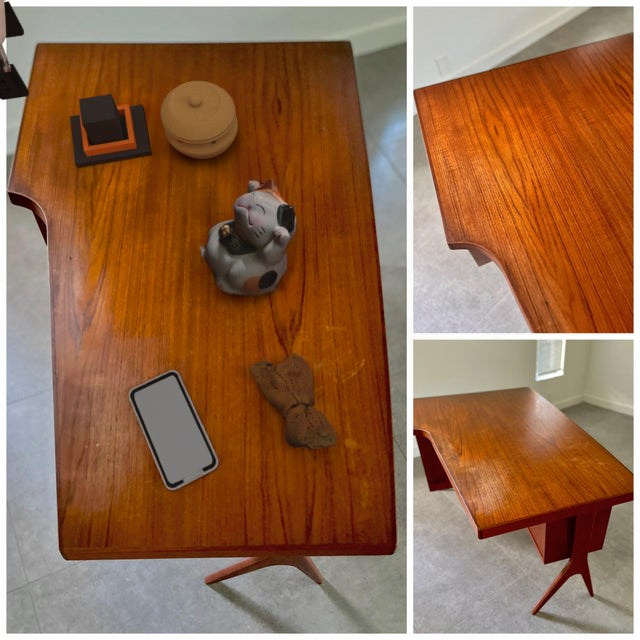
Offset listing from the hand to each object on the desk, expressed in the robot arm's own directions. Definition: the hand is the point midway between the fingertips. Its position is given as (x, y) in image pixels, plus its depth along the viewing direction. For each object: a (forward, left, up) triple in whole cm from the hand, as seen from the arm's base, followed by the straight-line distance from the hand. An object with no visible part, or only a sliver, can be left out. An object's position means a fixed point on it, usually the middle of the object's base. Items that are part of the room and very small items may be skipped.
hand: (13, 65), depth 62 cm
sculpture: (+23, -42, -25) cm, 54 cm away
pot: (+20, +6, -25) cm, 32 cm away
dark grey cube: (+4, +9, -24) cm, 26 cm away
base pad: (+5, +10, -25) cm, 27 cm away
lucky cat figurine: (+23, -17, -25) cm, 38 cm away
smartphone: (+7, -41, -25) cm, 48 cm away
